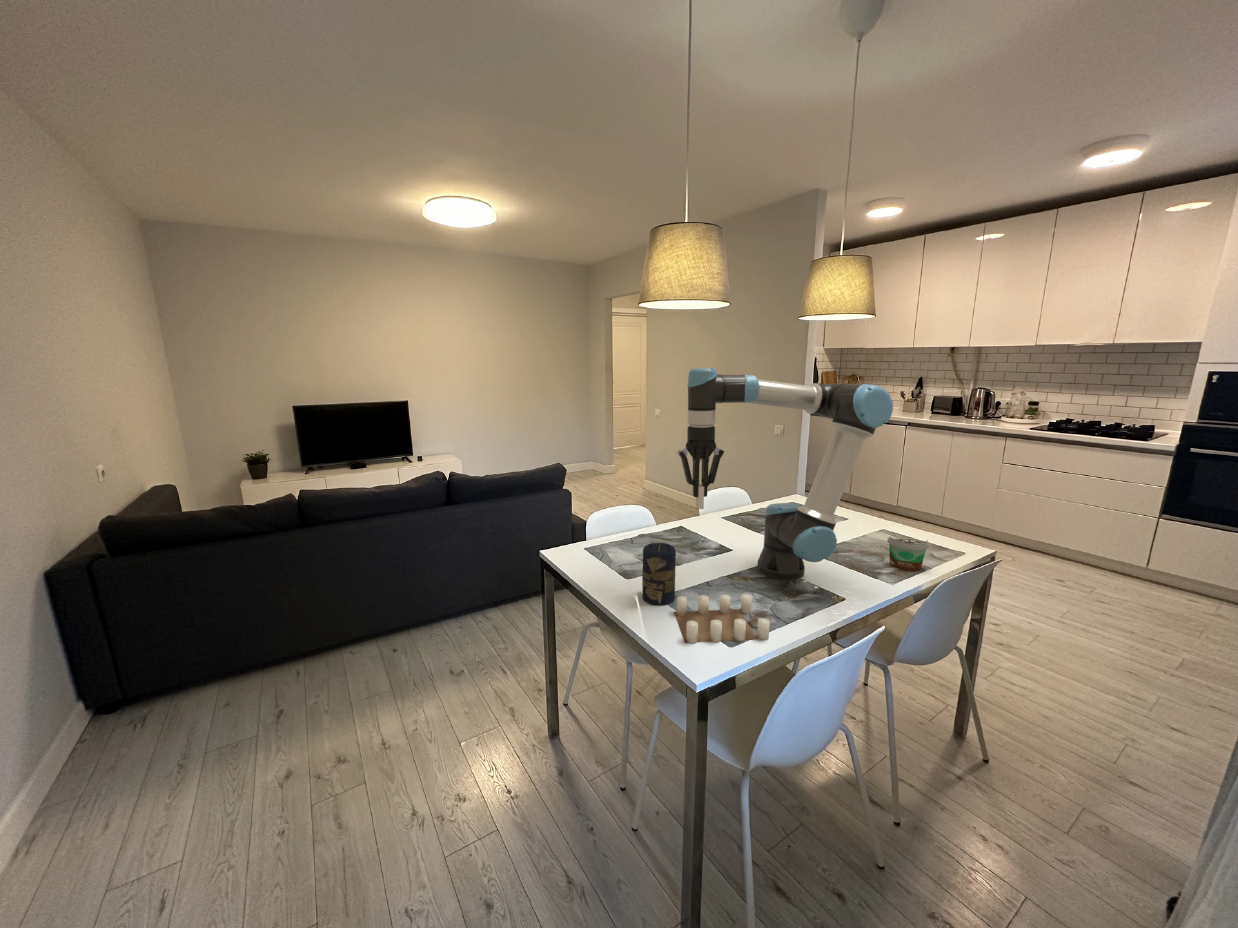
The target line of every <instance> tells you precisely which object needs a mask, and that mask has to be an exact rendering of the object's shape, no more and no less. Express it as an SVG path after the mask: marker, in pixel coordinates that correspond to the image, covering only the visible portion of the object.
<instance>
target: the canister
mask: <svg viewBox="0 0 1238 928" xmlns="http://www.w3.org/2000/svg"><path fill="white" fill-rule="evenodd" d="M676 555H677V552H676V549H675V547H674V546H673V545H671V544H669V543H666V542H651V543H648V544H646V545H645V546H643V548H642V574H641V575H642V576H641V579H642V581H641V582H642V588H641V589H642V593H641V594H642V600H643V602H645V603H646V604H649V605H650V606H659V607H660V606H667V605H670V604H672V603H674V601H675V597H676V596H675V595H676V560H677V558H676Z"/></svg>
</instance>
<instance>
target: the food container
mask: <svg viewBox="0 0 1238 928" xmlns="http://www.w3.org/2000/svg"><path fill="white" fill-rule="evenodd" d="M887 543H888V544H889V545H888V546H889V548H888V549H889V555H888V556H889V565H890V566H892V567H893V568H896V569H898V570H902V571H907V572H918V571H921V569H922V567H923V561H924V558H925V555H926V550H928V549H929V548H930V543H929V539H927V540H926V541H920V540H913V539H910V538H909V539H908V538H905V539H903V538H901V539H900V538H899V539H898V538H893V537H891V536H890V535H889V536H888V538H887Z"/></svg>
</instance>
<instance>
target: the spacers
mask: <svg viewBox="0 0 1238 928" xmlns="http://www.w3.org/2000/svg"><path fill="white" fill-rule="evenodd" d="M697 600H698V606H697V607H698V608H697V609H698V610H697V611H698V613H699V614H700V615H707V614H708V612H709V610H710V609H709V608H710V605H709V604H710V601H709V600H710V597H709V596H708V595H705V594H701V595H698V599H697ZM752 601H753V596H752V594H750V593H749V594H748V593H742V594H741V601H740V602H741V603H740V611H741V612H742V614H747V615H748V614H750V612H752V606H753V605H752V603H753V602H752ZM719 610H720V613H722V614H729V613H730V610H731V596H730V595H729V594H727V593H725V594H723V593H722V594H721V595H719ZM687 611H688V597H687V596H685V595H680V596H679V595H678V596H677V597H676V612H677V615H679V616H685V615H687ZM769 626H770V621H769V620H768V619H766V618H759V619H758V628H757V632H756V633H757V634H756V636H757V638H758V640H760V641H767V640H769V638H770V627H771V626H770V627H769ZM745 632H746V621H745V620H743V619H735V620H734V639H735V640H737V641H738V642H743V641H746V640H745ZM721 639H722V622H721V621H720V620H711V624H710V640H711V641H713V643H720V642H722V641H721ZM686 641H687V642H689V643H690V644H696V643H698V642H697V641H698V623H697V622H696V621H688V622H687V628H686ZM689 643H688V644H689Z"/></svg>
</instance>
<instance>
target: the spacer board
mask: <svg viewBox="0 0 1238 928" xmlns="http://www.w3.org/2000/svg"><path fill="white" fill-rule="evenodd" d="M673 614H674V616H675V620H676V623H677V625H678V627H679V631H680V633H681V636H682V638H683V641H684V644H689V642H687V641H686V628H687V622H688V621H696V622H697V623H698V641H697V642H696V643H711V642H713V641H711V640H710V624H711V620H720V621H721V622H722V639H721V641H720V642H732V641H733V642H735V641H737V640H735V639H734V620H735V619H743V620H745V621H746V632H745V640H744V641H755V640H758V641H759V638H758V637H757V634H756V633H755V632H754V630H753V629H752V628H753V627H751V624H750V623H749V621H748V620H747V619H746V618H745V616H744V613H743V612H741V608H740V609H738V608H736V609H730V613H729V614H722V613H720V609H715V610H711V609H709V612H708V614H707V615H700V614H699V613H698V610H689V611H688V610H687V615H685V616H679V615H677V611H673ZM713 643H714V642H713Z"/></svg>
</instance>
